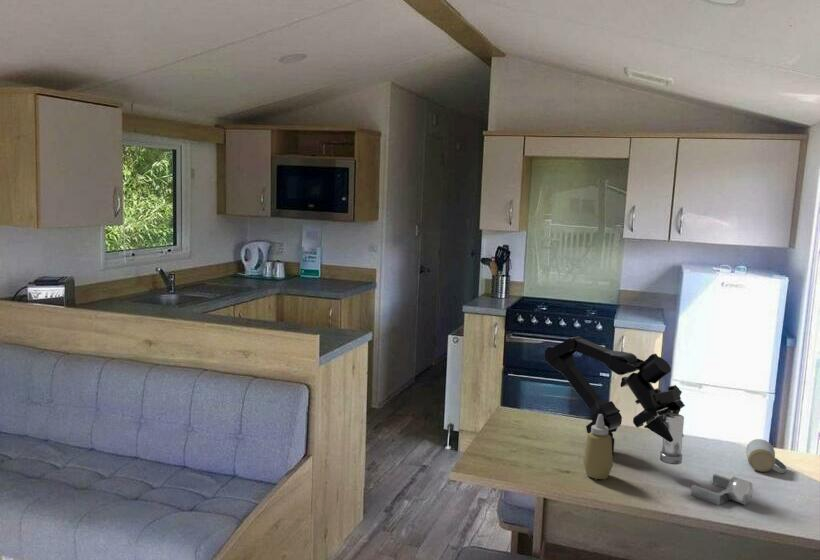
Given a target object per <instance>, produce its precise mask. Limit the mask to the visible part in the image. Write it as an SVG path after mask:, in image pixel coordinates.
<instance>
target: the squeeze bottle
mask: <svg viewBox="0 0 820 560" xmlns="http://www.w3.org/2000/svg"><path fill="white" fill-rule="evenodd" d="M608 430H609V429H608V427H607V426H605V425H604V419H603V415H602V414H599V415H598V418H597V421H596V425H592V426H591V432H590V433H587V437H586V441H585V449H584V455H583V462H582V463H583V467H584V470H585V474H586V476H587V475H588V476H589V477H588V476H587V477H588V478H590V477H592V478H596V479H595V480H597V479H603V480H607V479H608V477H609V475H610V473H611V470H612V468H613V466H614V465H613V461H614V460H613V455H612V439H611V436H610V435H609V434H608ZM592 478H591V479H592Z"/></svg>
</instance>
